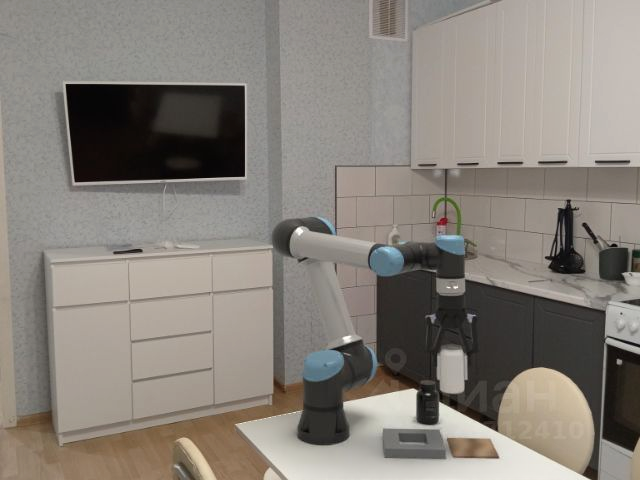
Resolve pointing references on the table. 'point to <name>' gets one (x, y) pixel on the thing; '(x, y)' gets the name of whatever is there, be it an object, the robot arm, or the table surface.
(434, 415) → the supplement bottle
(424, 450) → the plate
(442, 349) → the can
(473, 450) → the pad
